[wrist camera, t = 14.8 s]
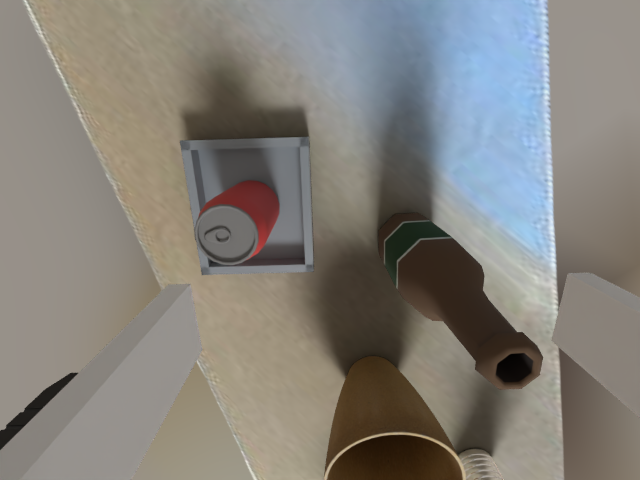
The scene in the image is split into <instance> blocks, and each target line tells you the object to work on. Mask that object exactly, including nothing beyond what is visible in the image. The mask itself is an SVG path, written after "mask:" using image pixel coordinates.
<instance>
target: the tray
mask: <svg viewBox="0 0 640 480" xmlns="http://www.w3.org/2000/svg"><path fill="white" fill-rule="evenodd" d="M180 145H181V151H182V157H183V163H184V169H185V175H186V181H187V187H188V193H189V199H190V205H191V211H192V217H193V224H194V229H195V225H196V221H197V219H198V216H199V213H200V211H201V210H202V208H203V207H204V206H205V204H206V203H207V202H208V201H210V200H211V199H213V198H214V197H216V196H217V195H219V194H221V193H223V192H224V191H226V190H228V189H229V188H231V187H233V186H235V185H236V184H238V183H240V182H244V181H247V180H252V181H259V182H261V183H264V184H266V185H267V186H268V187H270V188H271V189H272V190H273V192H274V193H275V194H276V196H277V198H278V201H279V205H280V209H279V216H278V219H277V221H276V223H275V225H274V227H273V229H272V231H271V233H270V235H269V237H268V239H267V241H266V243H265V245H264V246H263V248H262V249H261V250H260V251H259V253H258V254H256V255H254V256H253V257H251V258H250V259H248V260H245V261H244V262H242V263H239V264H235V265H223V264H220V263H217V262H214V261H212V260H211V259H209V258H208V257H207V256H205V255H204V254H203V252H202V251H201V250H200V249H199V247H198V245H197V248H198V254H199V260H200V266H201V272H202V275H213V274H249V273H285V272H314V249H313V223H312V196H311V169H310V142H309V137H286V138H252V139H219V140H186V141H180Z"/></svg>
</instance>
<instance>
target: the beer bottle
mask: <svg viewBox="0 0 640 480" xmlns="http://www.w3.org/2000/svg"><path fill="white" fill-rule="evenodd" d="M379 254H380V257H381V259H382V261H383V263H384V265H385V267H386V269H387V271H388V273H389V274H390V276H391V278H392V280H393V282H394V284H395V286H396V288H397V290H398V291H399V293H400V294H401V296H402V297H403V298H404V299H405V300H406V301H407V302H408V303H410V304H411V305H412V306H413V307H414V308H415V309H417V310H418V311H419V312H420V313H421V314H422V315H424V316H425V317H427V318H429V319H431V320H432V321H444V323H445V324H446V325H447V326H448V328H449V329H450V330H451V331H452V332H453V334H454V335H455V336H456V337H457V339H458V340H459V341H460V342H461V344H462V345H463V346H464V347H465V348H466V350H467V351H468V352H469V353H470V355H471V356H472V357H473V358H474V359H475V361H476V366H475V370H477V371H478V372H479V373H480V374H481V375H483V376H484V377H485V378H486V379H487V380H489V381H490V382H491V383H492V384H493V385H495V386H496V387H497V388H498V389H500V390H502V389H522V388H523V387H524V386H526V385H527V384H528V383H530V382H531V381H532V380H534V379H535V378H537V377H538V376H539V375H540V370H541V365H542V360H543V356H542V354H541V352H540V350H539V348H538V347H537V345H536V344H535V343H533V342H532V341H531V340H530V339H529V338H528V337H527V336H526V335H525V334H524V333H523V332H517V331H516V330H515V329H514V328H513V327H512V326H511V325H510V323H509V322H508V321H507V320H506V319H505V318H504V317H503V316H502V314H501V313H500V312H499V311H498V310H497V309H496V308H495V306H494V305H493V304H492V303H491V302H490V301H489V300H488V298H487V296H486V295H485V293H484V291H483V284H484V272H483V269H482V266H481V265H480V264H479V263H478V262H477V261H476V260H475V259H474V258H473V257H472V256H471V255H470V254H469V253H468V252H467V251H466V250H465V249H464V248H463V247H462V246H461V245H460V244H459V243H458V242H457V241H455V240H454V239H453V238H452V237H451V236H450V235H448V234H447V233H446V232H444V231H443V230H442V229H440V228H439V227H438V226H436V225H435V224H434V223H432V222H431V221H430V220H428V219H427V218H426V217H424V216H423V215H421V214H419V213H404V214H394V215H393V216H392V217H391V218H390V219H389V220H388V221H387V222H386V223H385V224H384V225H383V227H382V228H381V229H380V230H379Z"/></svg>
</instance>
